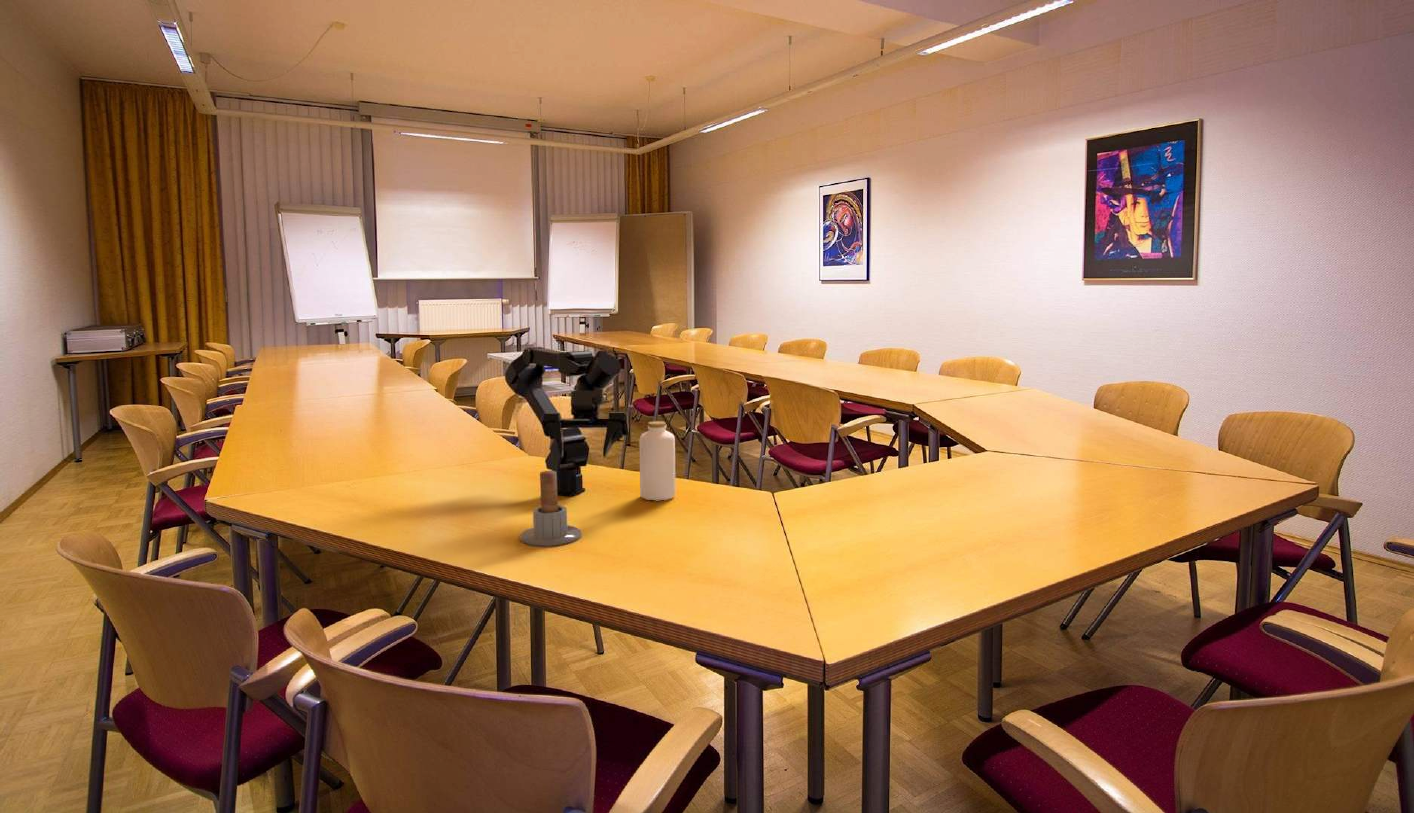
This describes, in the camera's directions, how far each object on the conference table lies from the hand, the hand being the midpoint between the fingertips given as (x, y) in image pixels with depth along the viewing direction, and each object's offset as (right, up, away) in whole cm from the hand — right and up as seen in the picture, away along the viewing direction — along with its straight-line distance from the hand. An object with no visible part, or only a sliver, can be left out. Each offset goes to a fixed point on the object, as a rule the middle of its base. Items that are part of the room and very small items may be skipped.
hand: (582, 456), depth 166 cm
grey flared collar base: (-5, -15, -11) cm, 20 cm away
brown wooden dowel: (-5, -15, -12) cm, 19 cm away
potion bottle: (+15, -11, +18) cm, 26 cm away
